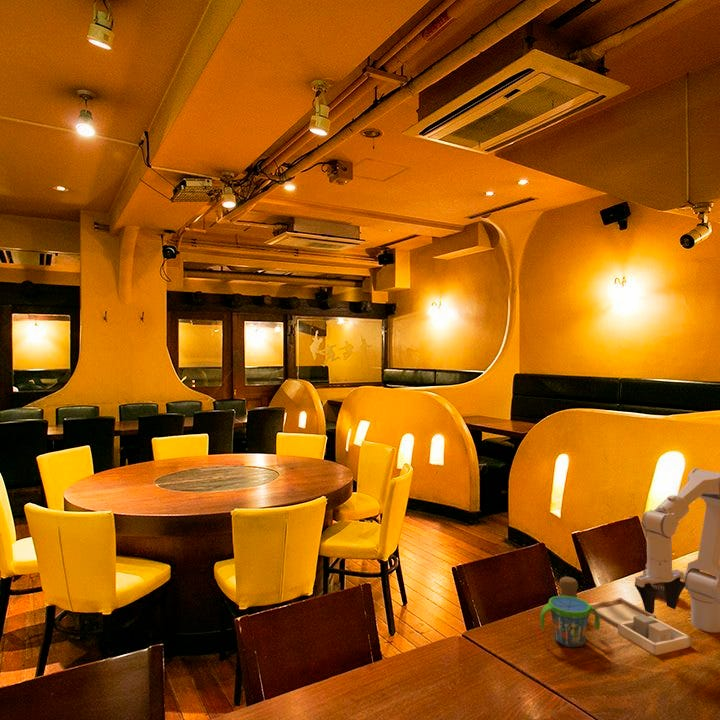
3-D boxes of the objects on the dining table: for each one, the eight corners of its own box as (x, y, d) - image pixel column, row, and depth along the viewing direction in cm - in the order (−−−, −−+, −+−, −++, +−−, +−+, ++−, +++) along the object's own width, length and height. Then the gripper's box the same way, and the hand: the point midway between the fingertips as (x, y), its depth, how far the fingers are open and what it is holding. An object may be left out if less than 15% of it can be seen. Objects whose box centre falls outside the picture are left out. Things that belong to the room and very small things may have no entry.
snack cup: (593, 632, 147) (592, 595, 147) (607, 652, 137) (606, 613, 137) (535, 630, 149) (534, 594, 149) (545, 650, 138) (544, 611, 138)
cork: (574, 610, 160) (574, 574, 160) (583, 620, 154) (583, 582, 154) (555, 611, 160) (554, 574, 160) (563, 620, 154) (562, 582, 154)
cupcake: (634, 592, 173) (634, 561, 173) (657, 588, 176) (657, 557, 176) (659, 604, 164) (658, 572, 164) (683, 599, 167) (682, 568, 167)
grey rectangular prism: (643, 630, 146) (643, 614, 146) (654, 637, 143) (654, 620, 143) (633, 633, 145) (633, 616, 145) (644, 639, 142) (644, 622, 142)
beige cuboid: (659, 639, 141) (658, 622, 142) (670, 645, 138) (670, 628, 138) (648, 641, 140) (648, 624, 140) (660, 648, 137) (659, 630, 137)
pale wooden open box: (651, 628, 149) (651, 616, 149) (690, 650, 137) (690, 636, 137) (618, 636, 145) (617, 623, 145) (655, 659, 133) (655, 645, 133)
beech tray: (620, 604, 164) (620, 597, 164) (656, 623, 152) (656, 616, 152) (584, 611, 160) (584, 604, 160) (618, 631, 147) (617, 624, 147)
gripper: (666, 549, 145) (667, 599, 145) (625, 556, 141) (626, 607, 140) (690, 558, 139) (691, 610, 138) (647, 565, 134) (648, 619, 134)
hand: (660, 609), depth 139 cm, fingers open, 7 cm apart
